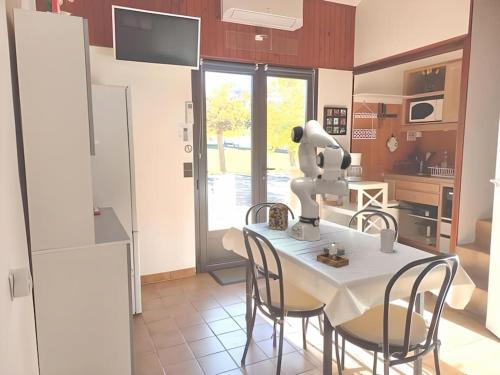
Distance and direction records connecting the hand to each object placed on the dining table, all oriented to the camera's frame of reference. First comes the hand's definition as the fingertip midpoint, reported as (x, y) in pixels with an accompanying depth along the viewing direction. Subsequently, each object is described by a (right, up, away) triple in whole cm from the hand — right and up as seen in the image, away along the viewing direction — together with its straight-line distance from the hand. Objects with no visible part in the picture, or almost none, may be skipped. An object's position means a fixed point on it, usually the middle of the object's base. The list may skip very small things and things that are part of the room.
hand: (331, 202), depth 195 cm
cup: (+34, -28, +13) cm, 46 cm away
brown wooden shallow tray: (-1, -30, -7) cm, 31 cm away
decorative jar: (-23, -21, +66) cm, 73 cm away
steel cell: (-1, -29, -7) cm, 30 cm away
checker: (+3, -28, +9) cm, 30 cm away
